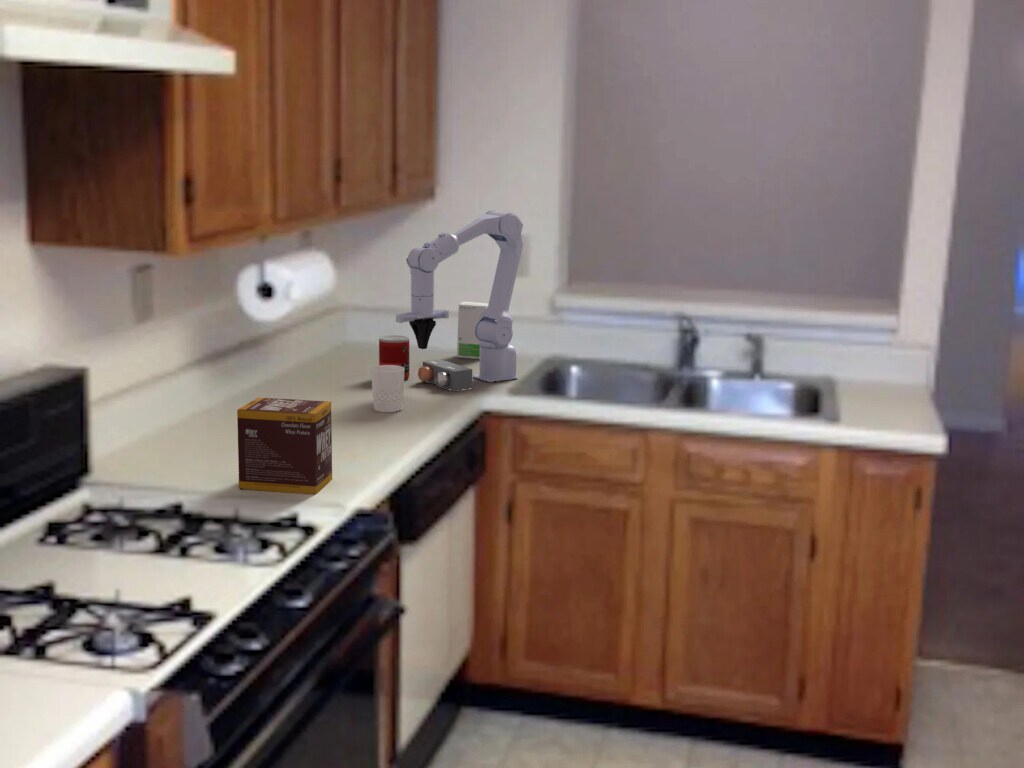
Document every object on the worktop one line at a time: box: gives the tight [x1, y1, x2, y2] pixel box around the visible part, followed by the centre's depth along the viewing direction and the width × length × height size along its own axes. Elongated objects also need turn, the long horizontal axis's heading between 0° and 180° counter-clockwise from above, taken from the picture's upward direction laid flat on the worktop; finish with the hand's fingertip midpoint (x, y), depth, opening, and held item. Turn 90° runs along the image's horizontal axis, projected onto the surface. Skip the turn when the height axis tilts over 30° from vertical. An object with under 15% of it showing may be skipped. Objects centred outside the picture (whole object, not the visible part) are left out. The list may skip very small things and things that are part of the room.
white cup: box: [370, 365, 405, 413], centre depth 301 cm, size 8×8×10 cm
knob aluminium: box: [435, 372, 451, 388], centre depth 325 cm, size 8×4×4 cm, turn 126°
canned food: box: [378, 334, 410, 381], centre depth 335 cm, size 8×8×11 cm
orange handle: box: [417, 366, 434, 382], centre depth 331 cm, size 8×4×4 cm, turn 126°
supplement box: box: [236, 397, 333, 495], centre depth 240 cm, size 10×15×16 cm
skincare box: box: [456, 301, 489, 360], centre depth 365 cm, size 8×7×16 cm
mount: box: [422, 359, 473, 392], centre depth 329 cm, size 6×15×5 cm, turn 36°
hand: (422, 348), depth 323 cm, fingers closed
